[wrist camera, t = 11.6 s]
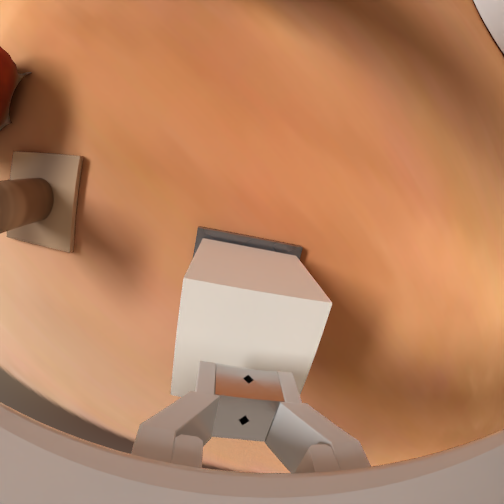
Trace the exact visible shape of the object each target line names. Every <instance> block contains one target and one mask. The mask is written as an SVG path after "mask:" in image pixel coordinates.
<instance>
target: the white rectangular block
mask: <svg viewBox="0 0 504 504" xmlns="http://www.w3.org/2000/svg"><path fill="white" fill-rule="evenodd" d="M331 306H332V302H331V300H330V299H329V298H328V296H327V295H326V294H325V293H324V291H323V290H322V289H321V287H320V286H319V285H318V283H317V282H316V281H315V280H314V278H313V277H312V276H311V274H310V273H309V272H308V270H307V269H306V268H305V267H304V265H303V264H302V263H301V261H300V260H299V259H298V258H297V256H295V255H290V254H284V253H279V252H274V251H269V250H263V249H258V248H253V247H248V246H242V245H237V244H232V243H226V242H221V241H216V240H210V239H205V238H203V239H202V241H201V243H200V245H199V247H198V249H197V251H196V253H195V255H194V257H193V259H192V261H191V264H190V266H189V268H188V270H187V272H186V274H185V276H184V279H183V286H182V293H181V301H180V309H179V317H178V325H177V334H176V343H175V353H174V363H173V373H172V385H171V395H174V396H179V397H183V396H184V395H186V394H187V393H188V392H190V391H195V388H196V382H197V375H198V368H199V362H200V360H201V361H206V362H213V363H218V364H224V365H230V366H236V367H243V368H247V369H256V370H266V371H281V372H291V373H292V374H293V376H294V379H295V382H296V385H297V388H298V391H299V394H301V391H302V389H303V386H304V383H305V381H306V378H307V376H308V373H309V370H310V368H311V365H312V362H313V359H314V357H315V354H316V351H317V348H318V345H319V342H320V340H321V337H322V334H323V331H324V328H325V325H326V322H327V319H328V316H329V312H330V309H331Z"/></svg>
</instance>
